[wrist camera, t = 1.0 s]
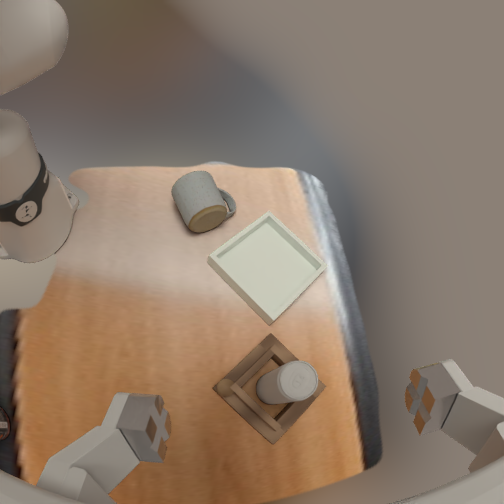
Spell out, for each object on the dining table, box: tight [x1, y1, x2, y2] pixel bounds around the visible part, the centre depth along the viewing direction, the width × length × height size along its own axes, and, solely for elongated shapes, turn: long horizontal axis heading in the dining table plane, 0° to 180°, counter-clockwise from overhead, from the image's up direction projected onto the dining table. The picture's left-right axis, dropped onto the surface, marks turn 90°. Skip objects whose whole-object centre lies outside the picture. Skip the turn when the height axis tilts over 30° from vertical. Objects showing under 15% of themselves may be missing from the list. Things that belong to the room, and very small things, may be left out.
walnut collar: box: [213, 333, 326, 444], centre depth 41 cm, size 12×12×2 cm
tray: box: [208, 211, 328, 325], centre depth 51 cm, size 14×14×3 cm
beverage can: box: [256, 361, 318, 404], centre depth 37 cm, size 5×5×12 cm
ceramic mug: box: [172, 171, 236, 232], centre depth 52 cm, size 11×8×8 cm
